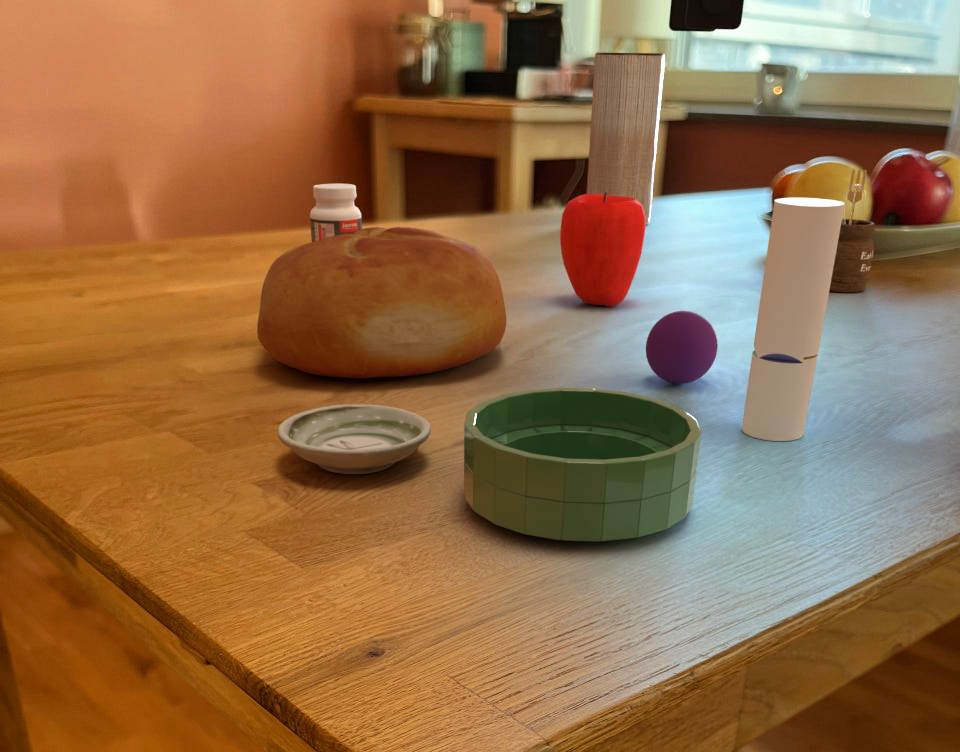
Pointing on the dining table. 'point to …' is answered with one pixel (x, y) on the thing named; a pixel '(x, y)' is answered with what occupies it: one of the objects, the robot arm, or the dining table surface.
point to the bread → (381, 304)
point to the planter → (625, 125)
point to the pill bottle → (334, 211)
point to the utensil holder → (853, 246)
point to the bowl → (580, 463)
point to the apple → (602, 246)
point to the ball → (681, 347)
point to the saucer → (354, 436)
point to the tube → (791, 316)
